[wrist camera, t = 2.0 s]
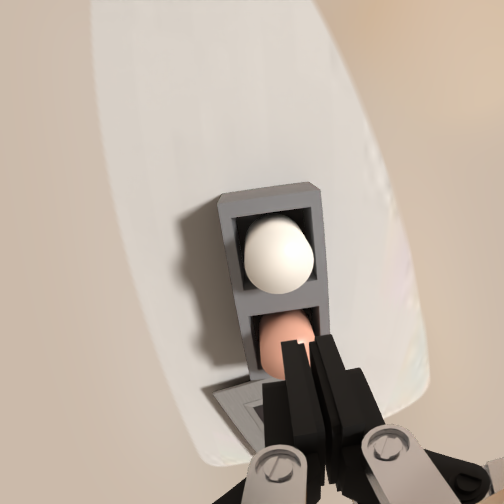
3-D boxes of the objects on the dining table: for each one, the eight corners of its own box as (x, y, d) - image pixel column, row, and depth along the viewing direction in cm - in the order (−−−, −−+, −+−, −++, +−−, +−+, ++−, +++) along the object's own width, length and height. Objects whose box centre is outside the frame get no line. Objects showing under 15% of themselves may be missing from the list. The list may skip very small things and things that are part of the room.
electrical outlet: (347, 424, 33) (352, 439, 30) (263, 449, 34) (264, 464, 32) (318, 345, 29) (323, 361, 26) (214, 379, 30) (212, 396, 28)
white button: (240, 217, 22) (239, 234, 18) (299, 209, 22) (310, 224, 18) (249, 272, 23) (249, 298, 19) (305, 264, 23) (315, 288, 19)
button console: (221, 193, 23) (217, 204, 20) (308, 181, 23) (320, 189, 19) (250, 351, 28) (250, 380, 24) (321, 340, 28) (330, 368, 24)
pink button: (255, 308, 24) (256, 338, 20) (308, 301, 24) (318, 329, 20) (262, 350, 25) (264, 383, 22) (311, 343, 25) (320, 375, 22)
